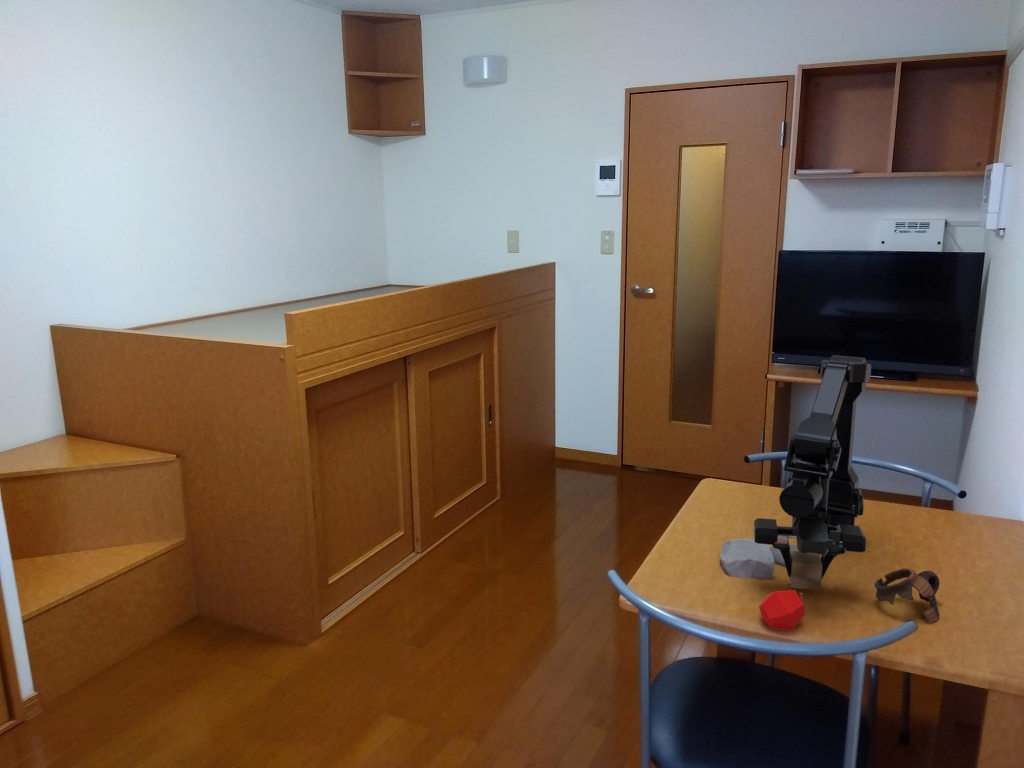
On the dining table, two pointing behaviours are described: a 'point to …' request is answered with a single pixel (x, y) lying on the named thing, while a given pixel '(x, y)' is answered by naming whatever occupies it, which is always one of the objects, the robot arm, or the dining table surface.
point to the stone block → (747, 559)
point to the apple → (782, 609)
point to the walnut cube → (805, 570)
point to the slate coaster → (778, 556)
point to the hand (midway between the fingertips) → (804, 577)
